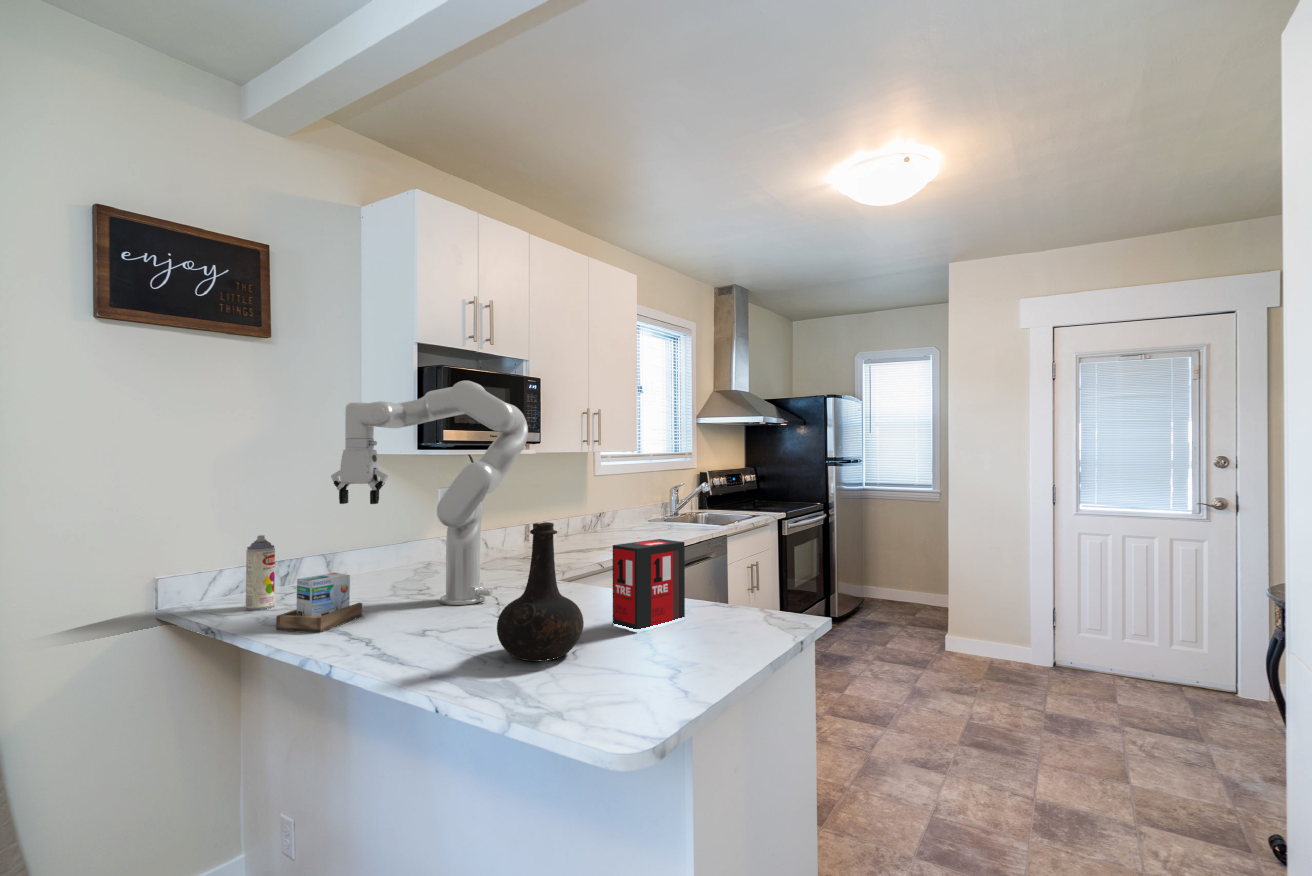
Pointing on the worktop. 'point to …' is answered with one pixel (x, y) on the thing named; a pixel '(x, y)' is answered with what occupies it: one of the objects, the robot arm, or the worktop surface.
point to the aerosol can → (260, 574)
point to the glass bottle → (540, 608)
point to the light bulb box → (322, 594)
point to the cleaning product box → (648, 583)
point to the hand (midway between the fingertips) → (359, 503)
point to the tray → (317, 619)
